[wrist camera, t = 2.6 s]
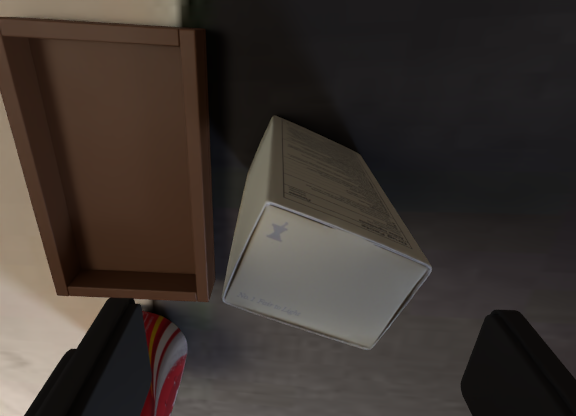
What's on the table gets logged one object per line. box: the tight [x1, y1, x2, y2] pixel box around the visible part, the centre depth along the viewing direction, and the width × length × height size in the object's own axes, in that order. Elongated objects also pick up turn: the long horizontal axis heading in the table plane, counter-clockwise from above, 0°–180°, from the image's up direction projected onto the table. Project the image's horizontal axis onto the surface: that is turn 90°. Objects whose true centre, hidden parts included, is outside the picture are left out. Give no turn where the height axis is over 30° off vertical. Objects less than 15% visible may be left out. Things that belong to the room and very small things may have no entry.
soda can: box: [140, 311, 188, 416], centre depth 24 cm, size 7×7×12 cm
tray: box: [0, 17, 215, 302], centre depth 22 cm, size 10×17×2 cm, turn 177°
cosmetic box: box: [222, 116, 432, 350], centre depth 18 cm, size 6×4×12 cm
